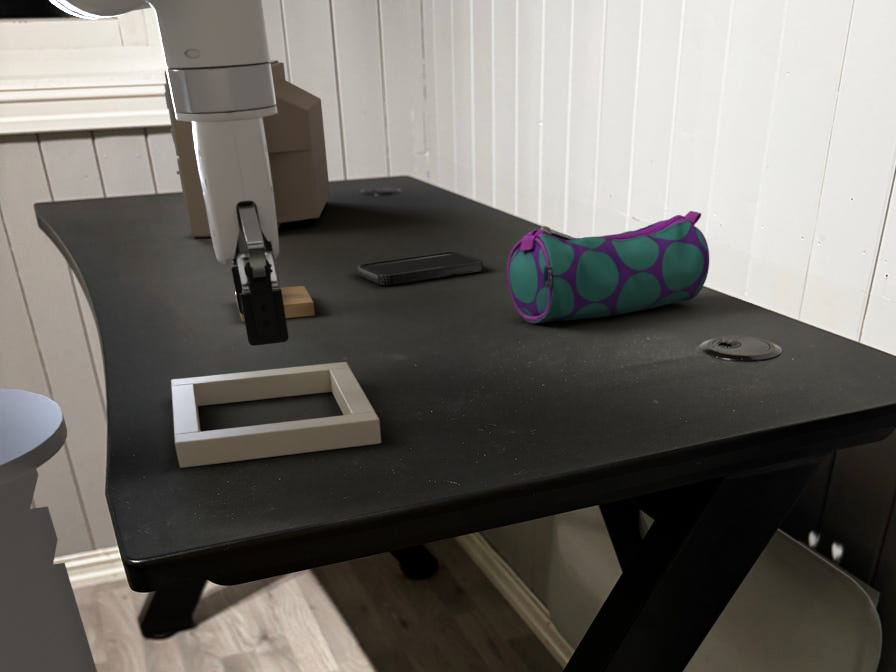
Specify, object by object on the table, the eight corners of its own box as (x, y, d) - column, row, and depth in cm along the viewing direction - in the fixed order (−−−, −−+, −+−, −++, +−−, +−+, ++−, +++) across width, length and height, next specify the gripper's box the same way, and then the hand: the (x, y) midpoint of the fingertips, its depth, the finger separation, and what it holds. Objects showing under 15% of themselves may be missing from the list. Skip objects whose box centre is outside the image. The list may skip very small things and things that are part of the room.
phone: (354, 265, 120) (455, 250, 126) (355, 274, 120) (455, 259, 127) (381, 277, 114) (486, 261, 121) (382, 286, 115) (486, 270, 121)
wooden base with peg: (242, 322, 103) (219, 176, 95) (236, 304, 109) (215, 166, 101) (315, 315, 104) (299, 171, 96) (305, 298, 111) (289, 162, 103)
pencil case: (542, 335, 97) (545, 236, 91) (505, 315, 103) (505, 221, 98) (708, 310, 104) (719, 216, 98) (663, 293, 110) (671, 204, 105)
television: (222, 200, 173) (181, -71, 151) (333, 197, 174) (308, -73, 152) (182, 238, 143) (123, -93, 121) (316, 235, 144) (282, -95, 122)
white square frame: (179, 468, 69) (174, 443, 68) (175, 402, 81) (171, 379, 80) (381, 443, 73) (379, 419, 72) (348, 383, 85) (346, 361, 84)
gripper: (170, 90, 76) (212, 306, 85) (174, 107, 62) (224, 362, 72) (263, 84, 77) (294, 297, 87) (287, 99, 64) (322, 350, 73)
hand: (263, 326), depth 79 cm, fingers open, 9 cm apart
